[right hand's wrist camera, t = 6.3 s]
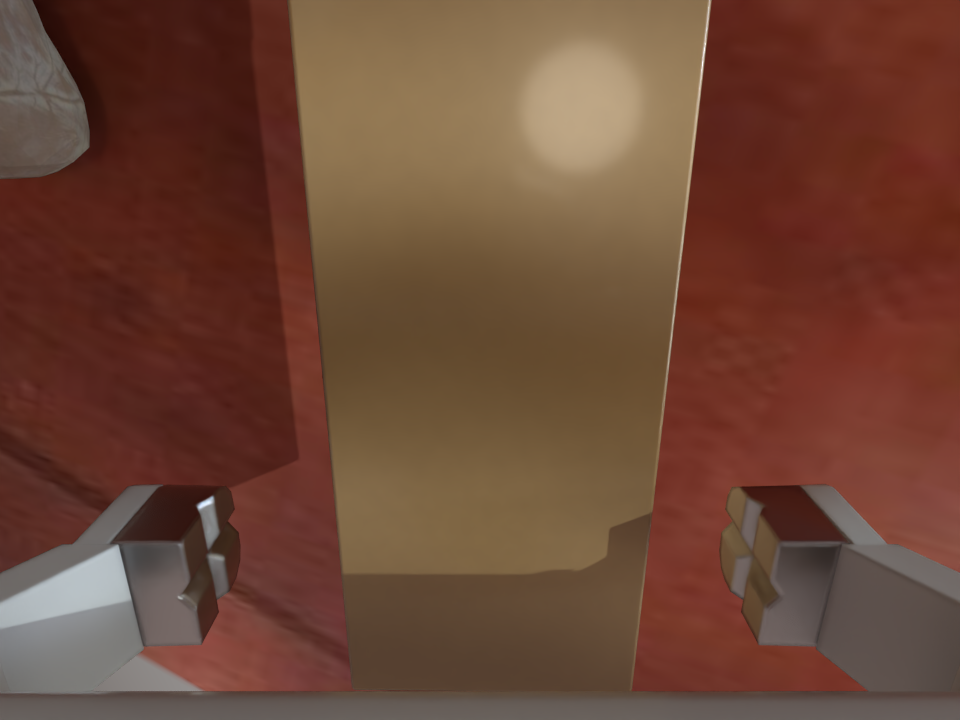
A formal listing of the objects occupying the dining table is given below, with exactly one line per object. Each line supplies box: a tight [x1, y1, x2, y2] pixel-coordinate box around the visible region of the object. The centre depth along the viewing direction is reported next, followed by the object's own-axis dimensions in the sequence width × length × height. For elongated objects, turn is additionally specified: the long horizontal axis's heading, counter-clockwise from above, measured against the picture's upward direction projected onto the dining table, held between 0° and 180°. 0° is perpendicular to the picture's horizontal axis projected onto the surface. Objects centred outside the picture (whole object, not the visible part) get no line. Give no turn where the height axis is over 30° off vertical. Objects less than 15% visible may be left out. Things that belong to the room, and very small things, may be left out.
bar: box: [287, 0, 711, 691], centre depth 11 cm, size 23×5×8 cm, turn 0°
